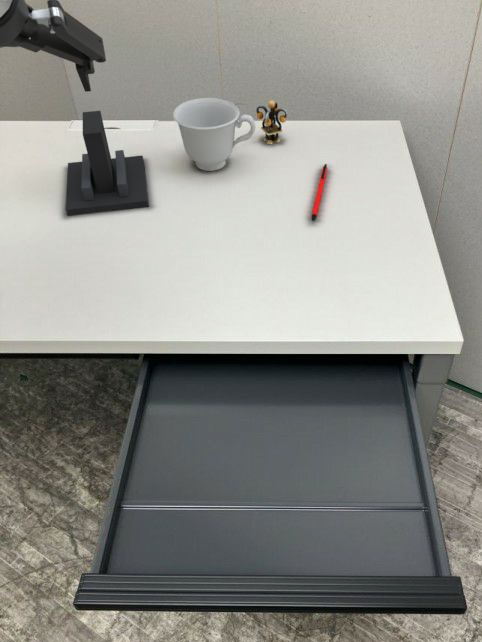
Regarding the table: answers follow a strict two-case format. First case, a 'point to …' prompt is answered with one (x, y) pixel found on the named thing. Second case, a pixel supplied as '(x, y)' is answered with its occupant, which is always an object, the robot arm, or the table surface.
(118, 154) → the base pad
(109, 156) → the foam pad
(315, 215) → the pen
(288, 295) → the table surface
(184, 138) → the teacup
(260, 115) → the figurine
